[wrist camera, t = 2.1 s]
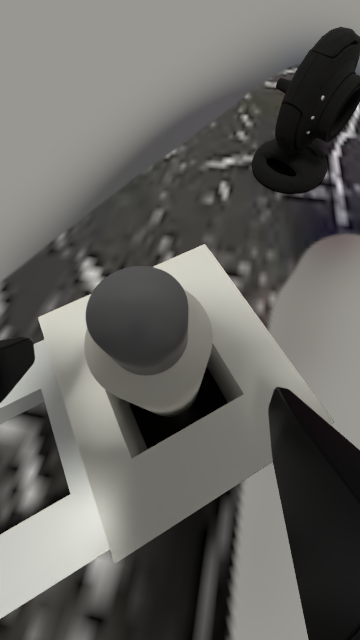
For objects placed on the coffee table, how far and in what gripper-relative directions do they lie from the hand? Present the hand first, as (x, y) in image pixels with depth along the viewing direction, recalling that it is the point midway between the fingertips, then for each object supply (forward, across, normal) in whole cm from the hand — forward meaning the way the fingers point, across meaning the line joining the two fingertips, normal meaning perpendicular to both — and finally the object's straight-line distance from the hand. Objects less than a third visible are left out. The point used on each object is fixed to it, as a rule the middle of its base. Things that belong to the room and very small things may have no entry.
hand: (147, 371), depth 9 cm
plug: (+7, 0, +6) cm, 9 cm away
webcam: (+24, -8, -11) cm, 28 cm away
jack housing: (+4, +4, +8) cm, 10 cm away
